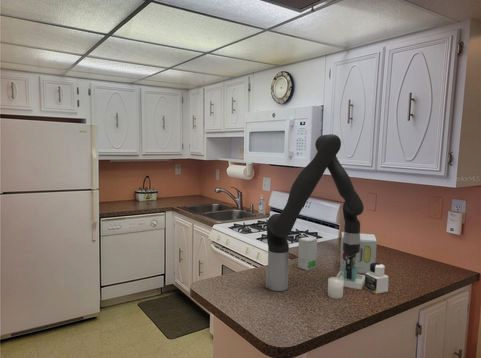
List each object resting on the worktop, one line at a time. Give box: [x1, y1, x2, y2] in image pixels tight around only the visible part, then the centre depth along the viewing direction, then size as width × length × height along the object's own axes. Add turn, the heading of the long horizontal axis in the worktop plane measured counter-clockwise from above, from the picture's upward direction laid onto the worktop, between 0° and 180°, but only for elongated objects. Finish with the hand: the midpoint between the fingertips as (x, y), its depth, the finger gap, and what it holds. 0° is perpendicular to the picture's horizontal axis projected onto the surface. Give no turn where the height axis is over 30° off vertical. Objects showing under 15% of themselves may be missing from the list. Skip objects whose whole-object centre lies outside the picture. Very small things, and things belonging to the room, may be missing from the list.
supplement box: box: [339, 231, 378, 275], centre depth 185 cm, size 17×13×18 cm
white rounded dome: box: [327, 276, 344, 299], centre depth 152 cm, size 6×6×7 cm
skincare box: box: [297, 236, 318, 271], centre depth 187 cm, size 8×7×16 cm
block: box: [343, 266, 358, 281], centre depth 167 cm, size 5×5×5 cm
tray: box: [335, 270, 365, 290], centre depth 167 cm, size 12×12×3 cm
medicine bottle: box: [364, 262, 389, 294], centre depth 159 cm, size 7×7×12 cm
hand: (350, 276), depth 167 cm, fingers closed on block, 4 cm apart
